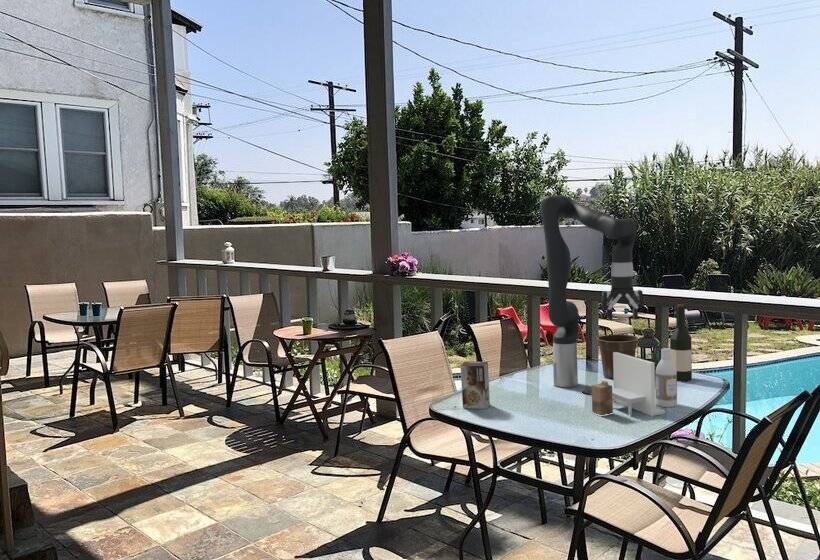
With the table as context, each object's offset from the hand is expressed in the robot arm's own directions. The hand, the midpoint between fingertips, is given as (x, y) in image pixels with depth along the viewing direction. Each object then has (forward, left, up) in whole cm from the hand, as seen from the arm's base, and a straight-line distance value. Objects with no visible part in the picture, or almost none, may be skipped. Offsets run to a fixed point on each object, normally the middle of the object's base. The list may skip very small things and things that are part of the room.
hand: (622, 319), depth 247 cm
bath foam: (+14, -6, -30) cm, 33 cm away
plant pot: (-2, +33, -30) cm, 44 cm away
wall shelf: (+2, -12, -29) cm, 32 cm away
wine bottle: (+22, +30, -30) cm, 47 cm away
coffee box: (-52, -15, -30) cm, 62 cm away
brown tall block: (-7, -19, -30) cm, 36 cm away
